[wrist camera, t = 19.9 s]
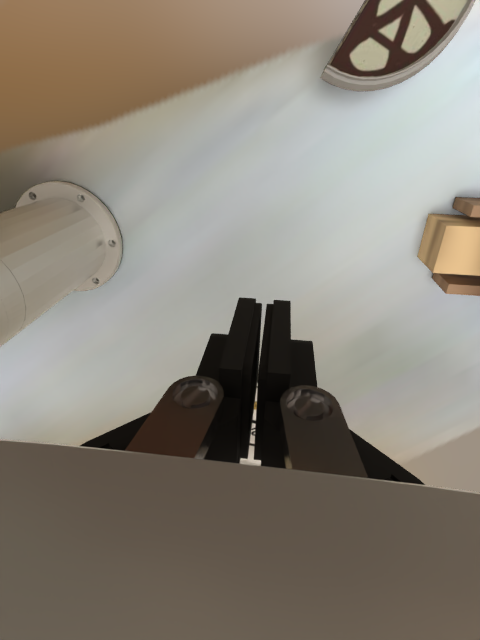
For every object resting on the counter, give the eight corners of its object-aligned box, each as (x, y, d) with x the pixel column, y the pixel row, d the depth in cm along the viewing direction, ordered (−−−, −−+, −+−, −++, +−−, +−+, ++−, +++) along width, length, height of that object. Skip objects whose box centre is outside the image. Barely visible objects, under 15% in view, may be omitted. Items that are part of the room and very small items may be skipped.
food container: (367, 126, 34) (394, 128, 25) (313, 87, 33) (322, 74, 24) (474, -28, 28) (558, -96, 19) (413, -82, 27) (471, -178, 18)
